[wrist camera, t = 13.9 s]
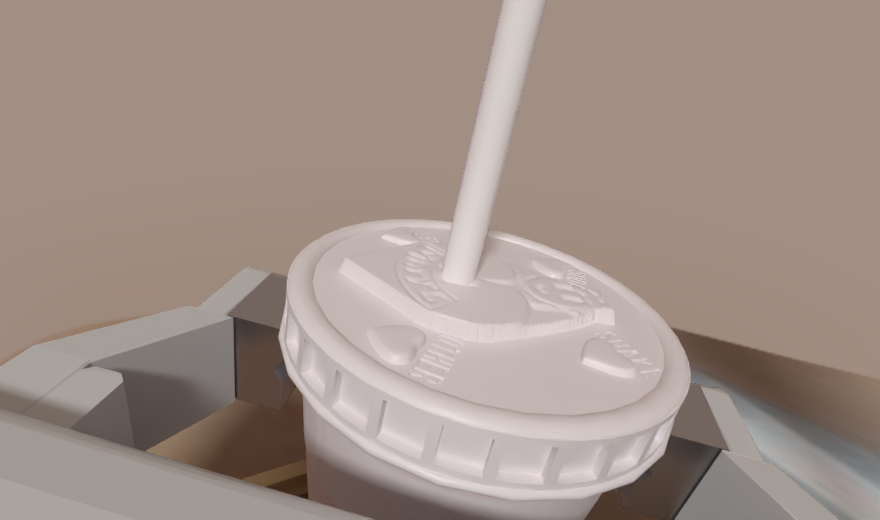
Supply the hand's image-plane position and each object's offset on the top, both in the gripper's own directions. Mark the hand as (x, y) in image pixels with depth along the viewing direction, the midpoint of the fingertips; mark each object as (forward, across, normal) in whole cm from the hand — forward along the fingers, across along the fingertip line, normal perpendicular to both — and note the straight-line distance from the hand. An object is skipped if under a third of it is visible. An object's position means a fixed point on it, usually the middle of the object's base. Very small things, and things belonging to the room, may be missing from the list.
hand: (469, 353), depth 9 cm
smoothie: (-2, 0, +8) cm, 8 cm away
